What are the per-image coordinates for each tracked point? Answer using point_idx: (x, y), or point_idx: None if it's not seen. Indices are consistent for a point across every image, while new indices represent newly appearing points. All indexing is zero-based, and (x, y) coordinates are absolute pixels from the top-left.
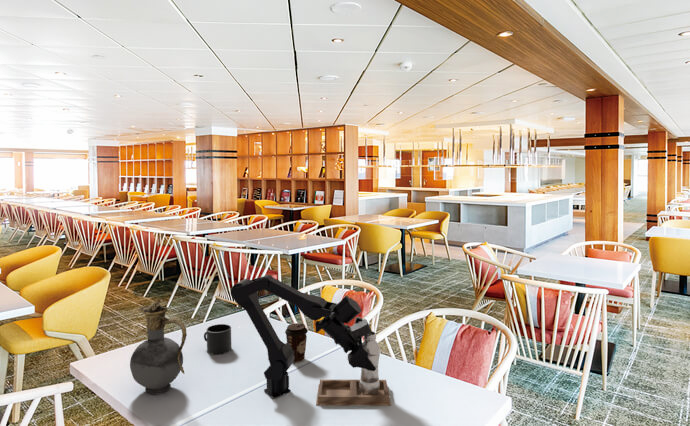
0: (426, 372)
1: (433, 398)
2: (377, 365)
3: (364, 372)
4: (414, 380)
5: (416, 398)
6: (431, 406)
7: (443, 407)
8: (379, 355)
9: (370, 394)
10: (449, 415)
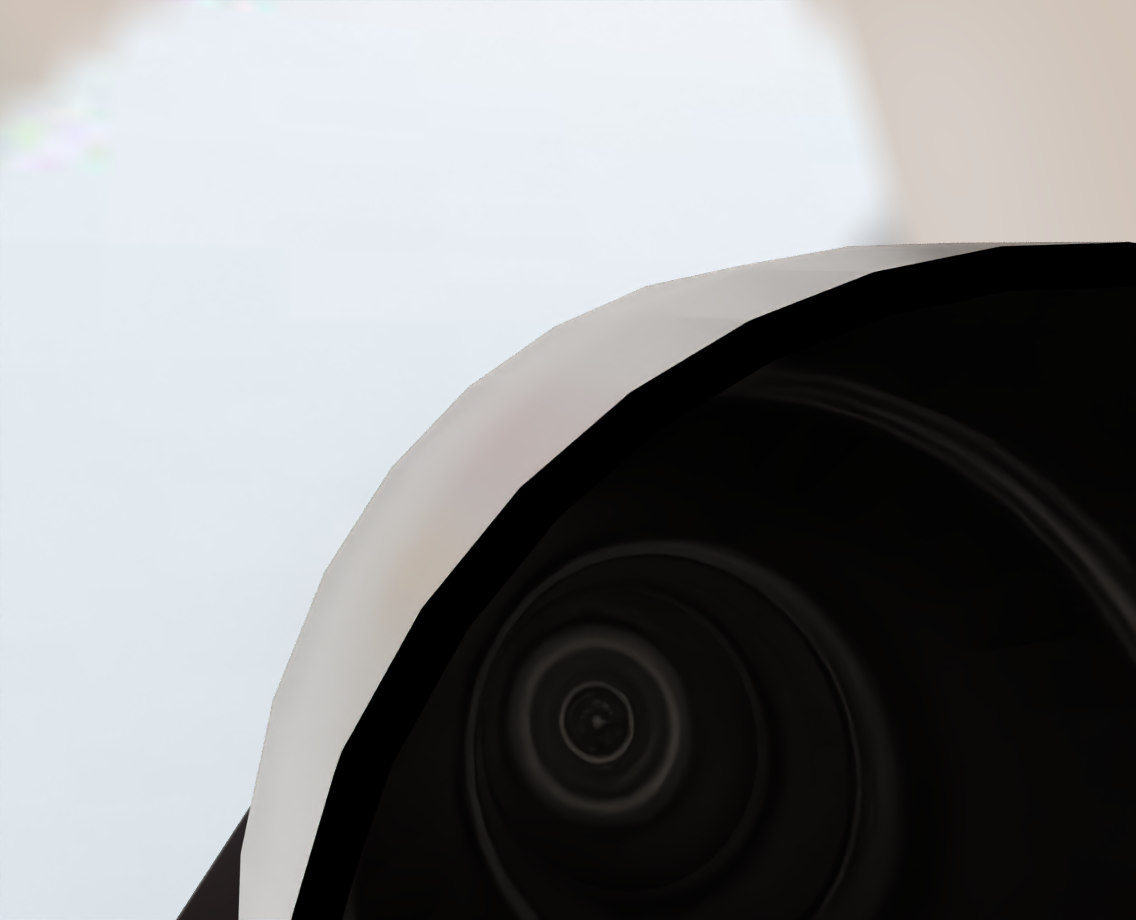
0: (35, 148)
1: (548, 132)
2: (730, 548)
3: (804, 845)
4: (215, 258)
5: (573, 254)
6: (679, 154)
7: (673, 81)
8: (725, 431)
9: (716, 694)
10: (773, 58)
